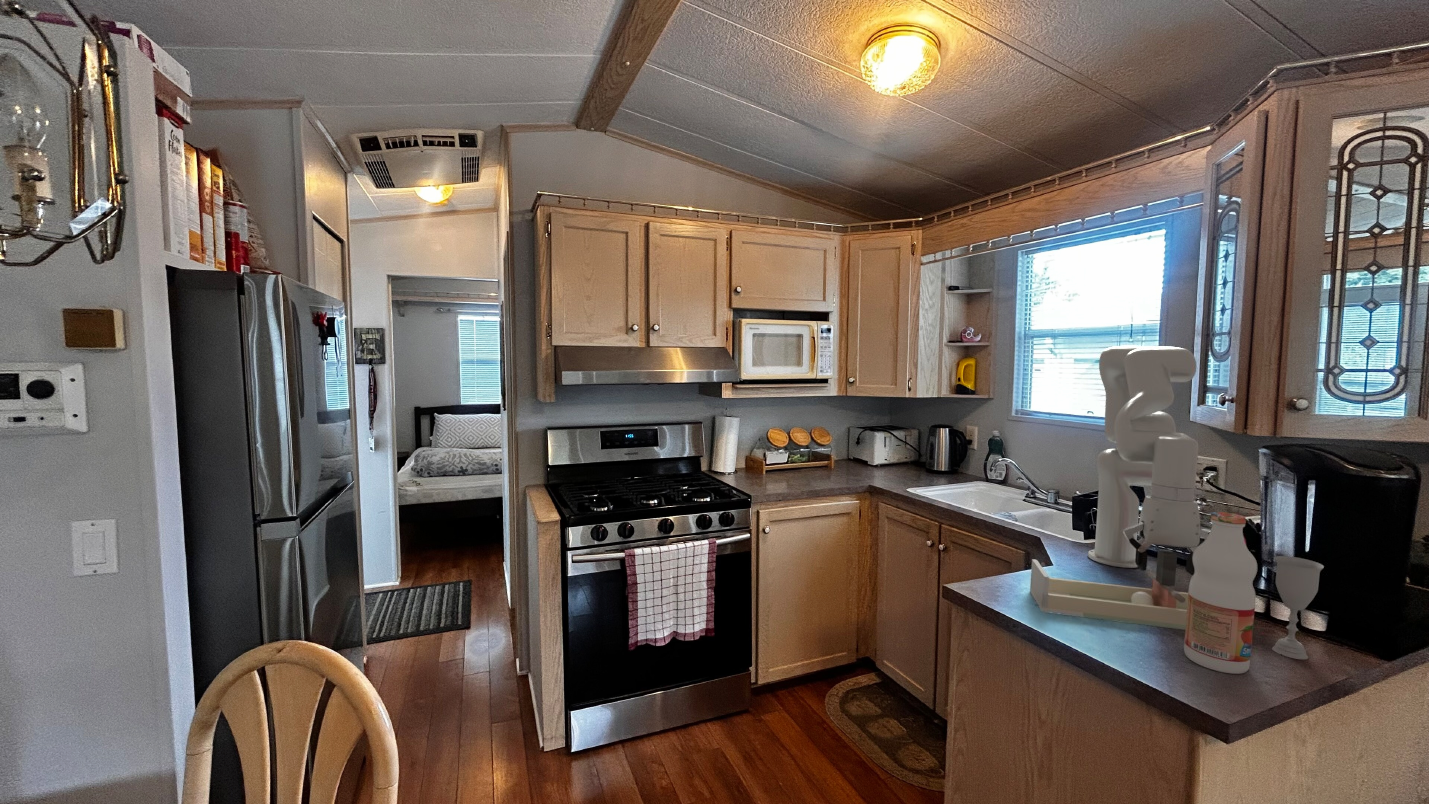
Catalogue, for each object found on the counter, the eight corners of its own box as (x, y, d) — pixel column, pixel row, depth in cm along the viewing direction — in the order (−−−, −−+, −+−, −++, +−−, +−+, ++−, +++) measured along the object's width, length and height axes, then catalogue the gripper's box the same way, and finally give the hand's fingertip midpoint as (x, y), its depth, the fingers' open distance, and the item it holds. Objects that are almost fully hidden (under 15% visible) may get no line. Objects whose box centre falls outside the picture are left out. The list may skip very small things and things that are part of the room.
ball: (1127, 604, 134) (1128, 587, 134) (1148, 607, 133) (1149, 589, 132) (1134, 612, 130) (1135, 594, 130) (1155, 614, 129) (1157, 596, 129)
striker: (1141, 595, 138) (1146, 540, 137) (1153, 597, 138) (1158, 541, 136) (1172, 625, 123) (1178, 563, 122) (1186, 626, 122) (1191, 564, 121)
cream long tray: (1030, 591, 143) (1032, 559, 142) (1187, 610, 134) (1189, 575, 133) (1042, 611, 132) (1044, 576, 131) (1214, 633, 123) (1217, 595, 122)
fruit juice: (1175, 645, 117) (1187, 506, 115) (1235, 655, 114) (1248, 511, 111) (1194, 668, 108) (1206, 518, 106) (1259, 679, 105) (1274, 524, 103)
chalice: (1267, 640, 120) (1275, 553, 119) (1314, 652, 115) (1323, 562, 114) (1264, 652, 115) (1273, 561, 113) (1314, 666, 110) (1324, 571, 109)
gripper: (1211, 492, 129) (1204, 570, 131) (1119, 486, 134) (1114, 561, 136) (1230, 500, 122) (1222, 582, 123) (1132, 493, 127) (1126, 572, 128)
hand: (1166, 571), depth 129 cm, fingers open, 8 cm apart
